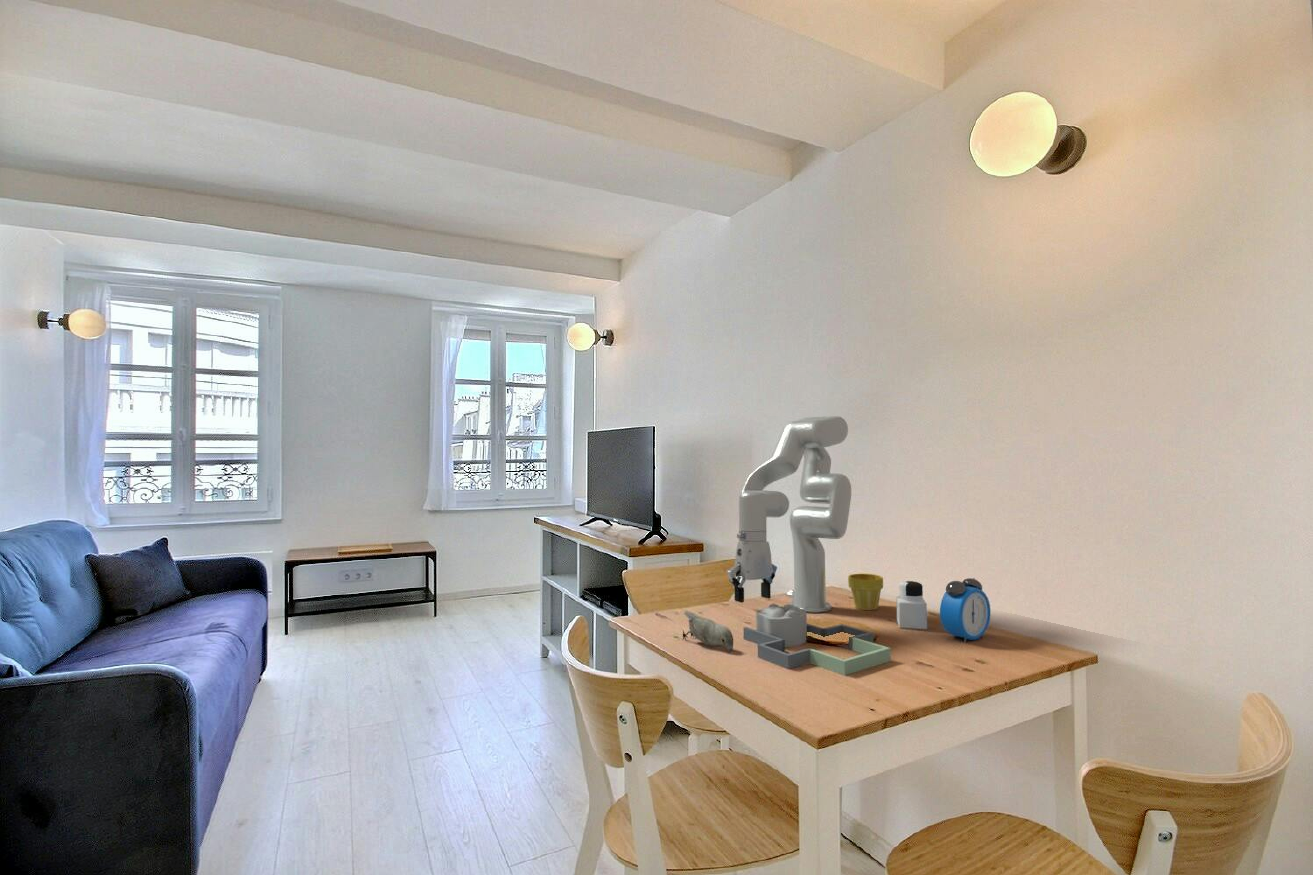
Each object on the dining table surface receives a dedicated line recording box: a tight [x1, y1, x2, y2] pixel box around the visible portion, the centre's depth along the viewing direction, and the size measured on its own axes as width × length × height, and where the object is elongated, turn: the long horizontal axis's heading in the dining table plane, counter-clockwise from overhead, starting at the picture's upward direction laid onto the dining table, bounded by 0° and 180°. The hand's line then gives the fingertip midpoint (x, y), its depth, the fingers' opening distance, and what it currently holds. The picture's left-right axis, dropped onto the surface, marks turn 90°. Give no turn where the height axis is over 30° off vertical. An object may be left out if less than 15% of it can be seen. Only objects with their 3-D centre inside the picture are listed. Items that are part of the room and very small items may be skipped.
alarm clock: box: [939, 577, 991, 643], centre depth 162 cm, size 13×6×15 cm, turn 120°
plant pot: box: [847, 572, 884, 611], centre depth 194 cm, size 10×10×10 cm
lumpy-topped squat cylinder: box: [755, 603, 808, 648], centre depth 162 cm, size 10×13×9 cm
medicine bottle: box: [895, 580, 928, 630], centre depth 174 cm, size 7×7×12 cm
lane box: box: [743, 623, 892, 676], centre depth 154 cm, size 33×30×3 cm
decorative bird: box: [681, 610, 734, 653], centre depth 159 cm, size 5×16×7 cm, turn 41°
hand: (752, 599), depth 171 cm, fingers open, 9 cm apart
